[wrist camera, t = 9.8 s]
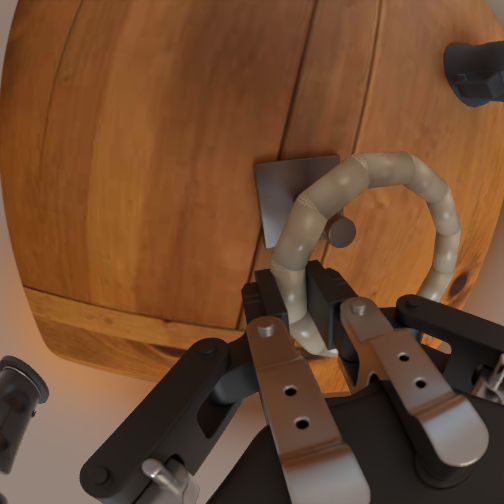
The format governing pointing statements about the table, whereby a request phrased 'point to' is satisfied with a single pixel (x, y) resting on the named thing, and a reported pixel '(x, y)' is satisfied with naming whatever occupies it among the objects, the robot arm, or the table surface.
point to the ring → (337, 197)
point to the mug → (476, 72)
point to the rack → (295, 197)
